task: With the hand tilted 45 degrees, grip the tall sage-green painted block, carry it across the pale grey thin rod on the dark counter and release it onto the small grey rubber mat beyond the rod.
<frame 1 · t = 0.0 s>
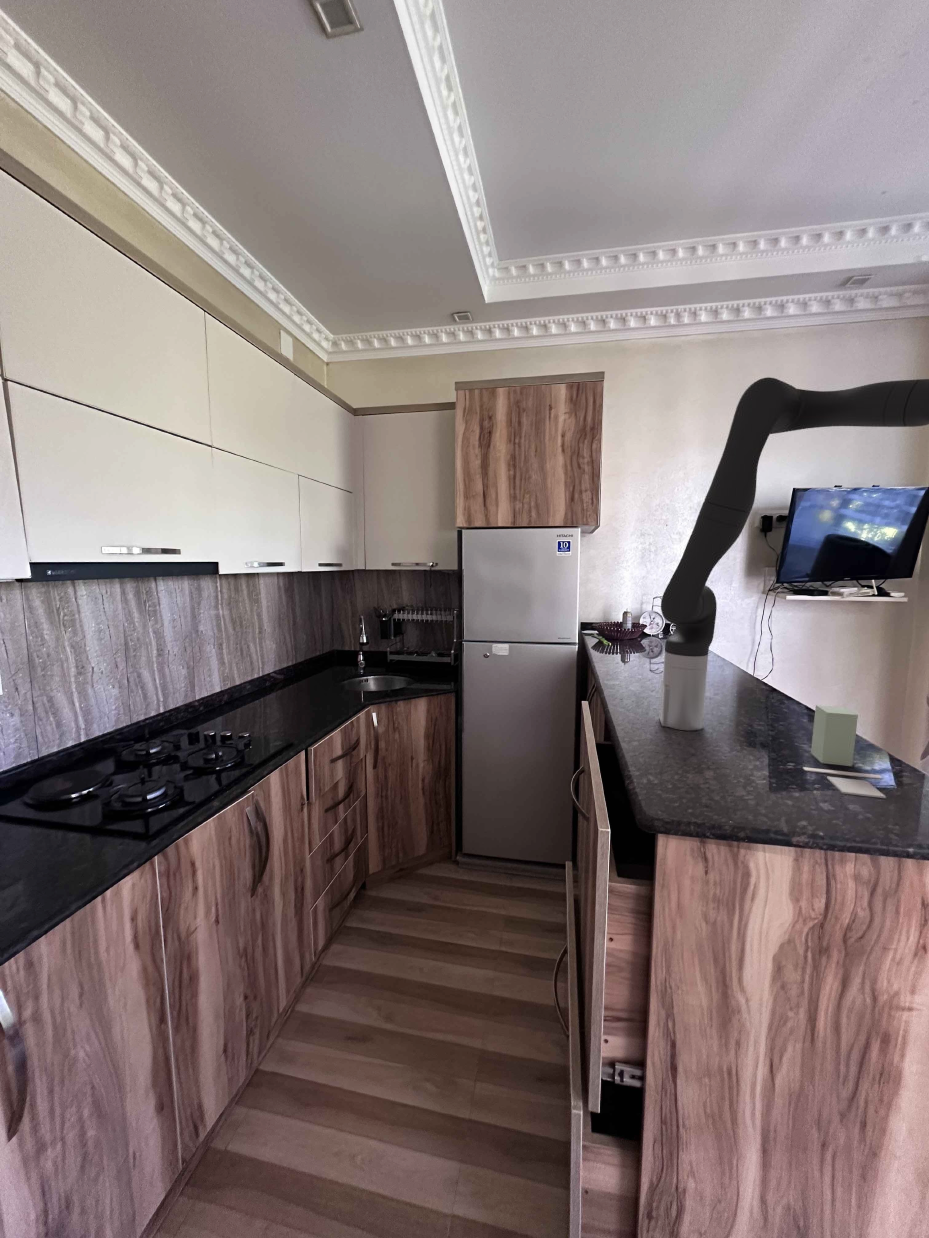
pale grey thin rod: (841, 773, 89), on the counter
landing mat: (854, 787, 83), on the counter
sage block: (830, 759, 95), on the counter
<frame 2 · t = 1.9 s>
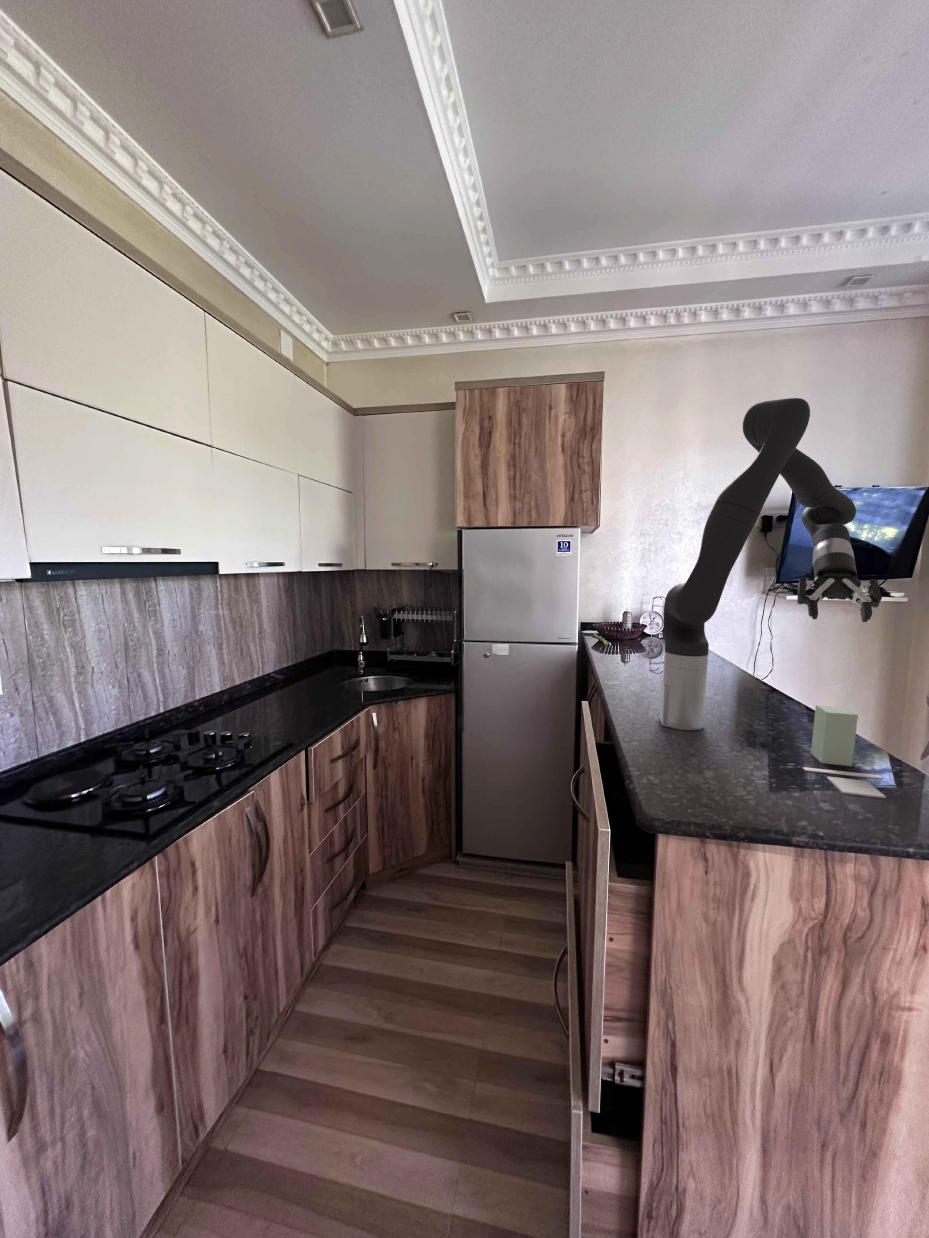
hand: (840, 618, 102), 27 cm above the counter, tool tilted 45°, fingers open, 8 cm apart
nothing on the counter moved.
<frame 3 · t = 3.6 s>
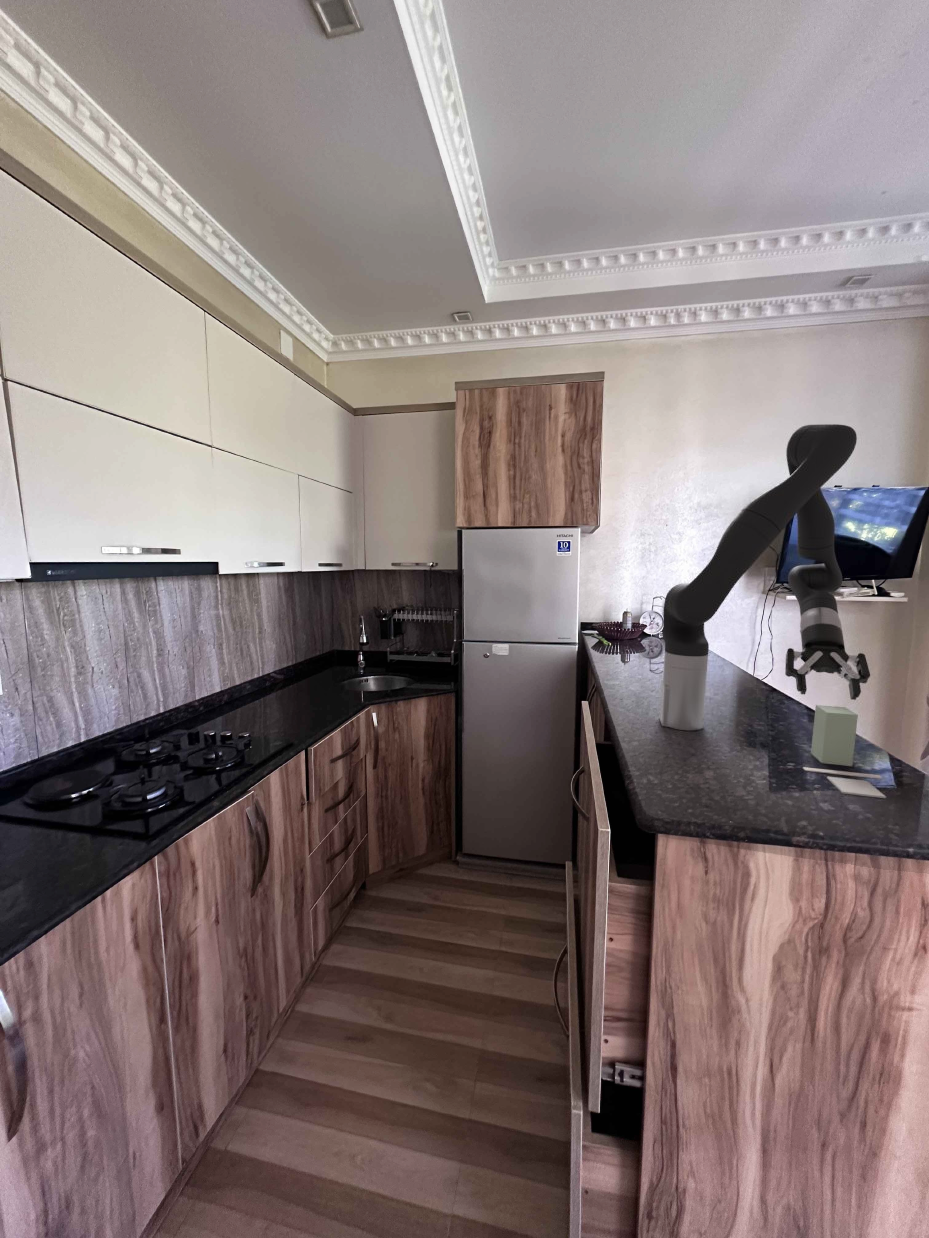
hand: (828, 695, 100), 11 cm above the counter, tool tilted 45°, fingers open, 8 cm apart
nothing on the counter moved.
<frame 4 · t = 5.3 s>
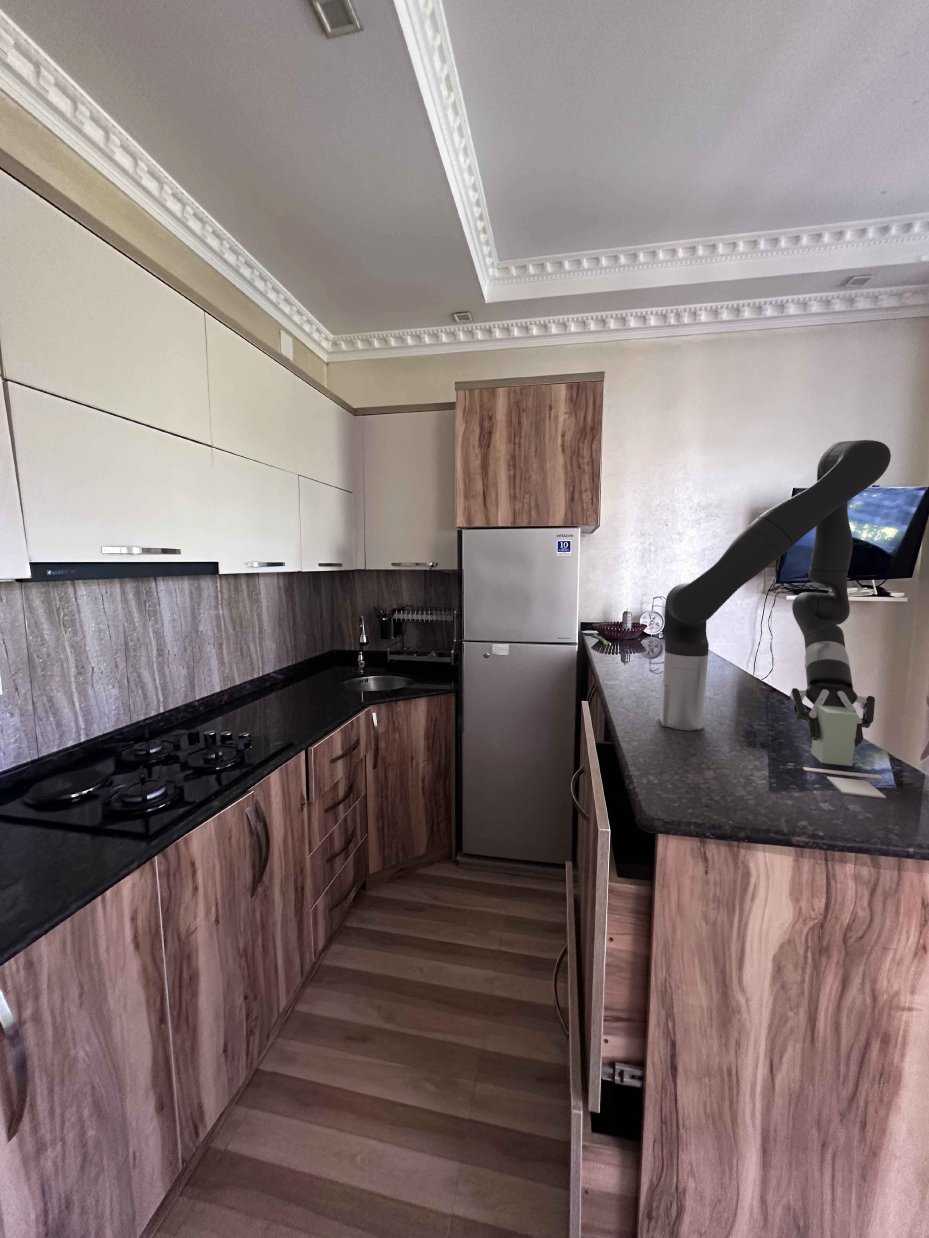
hand: (835, 741, 93), 4 cm above the counter, tool tilted 45°, fingers closed on sage block, 5 cm apart
sage block: (831, 759, 95), on the counter, touching gripper
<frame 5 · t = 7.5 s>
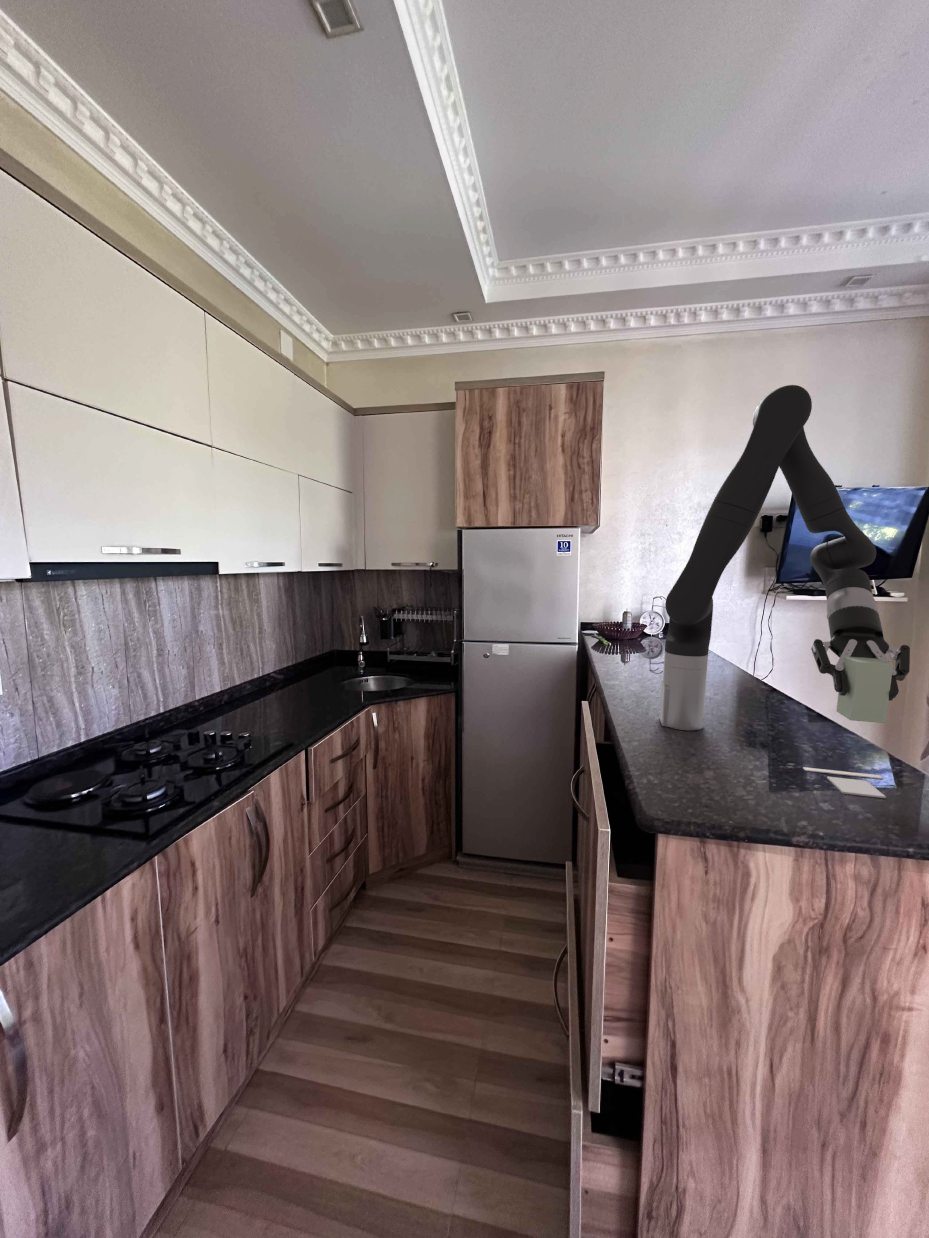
hand: (866, 695, 82), 16 cm above the counter, tool tilted 45°, fingers closed on sage block, 5 cm apart
sage block: (860, 717, 84), point 12 cm above the counter, touching gripper
when the fingers open (6 cm above the counter, at t = 9.8 s): sage block drops 1 cm, resting on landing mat.
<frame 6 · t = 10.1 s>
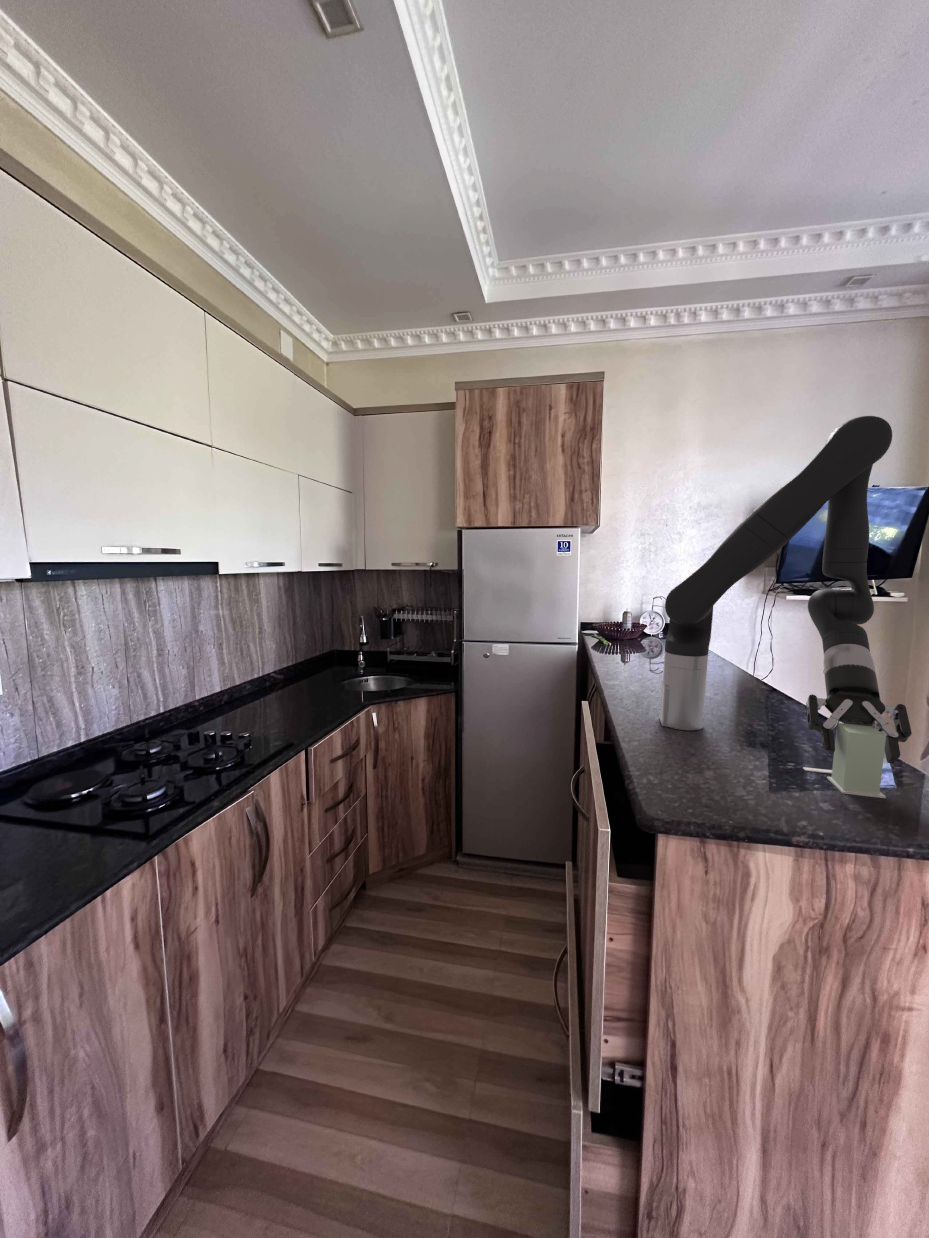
hand: (861, 756, 81), 6 cm above the counter, tool tilted 45°, fingers open, 7 cm apart
sage block: (854, 785, 83), resting on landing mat
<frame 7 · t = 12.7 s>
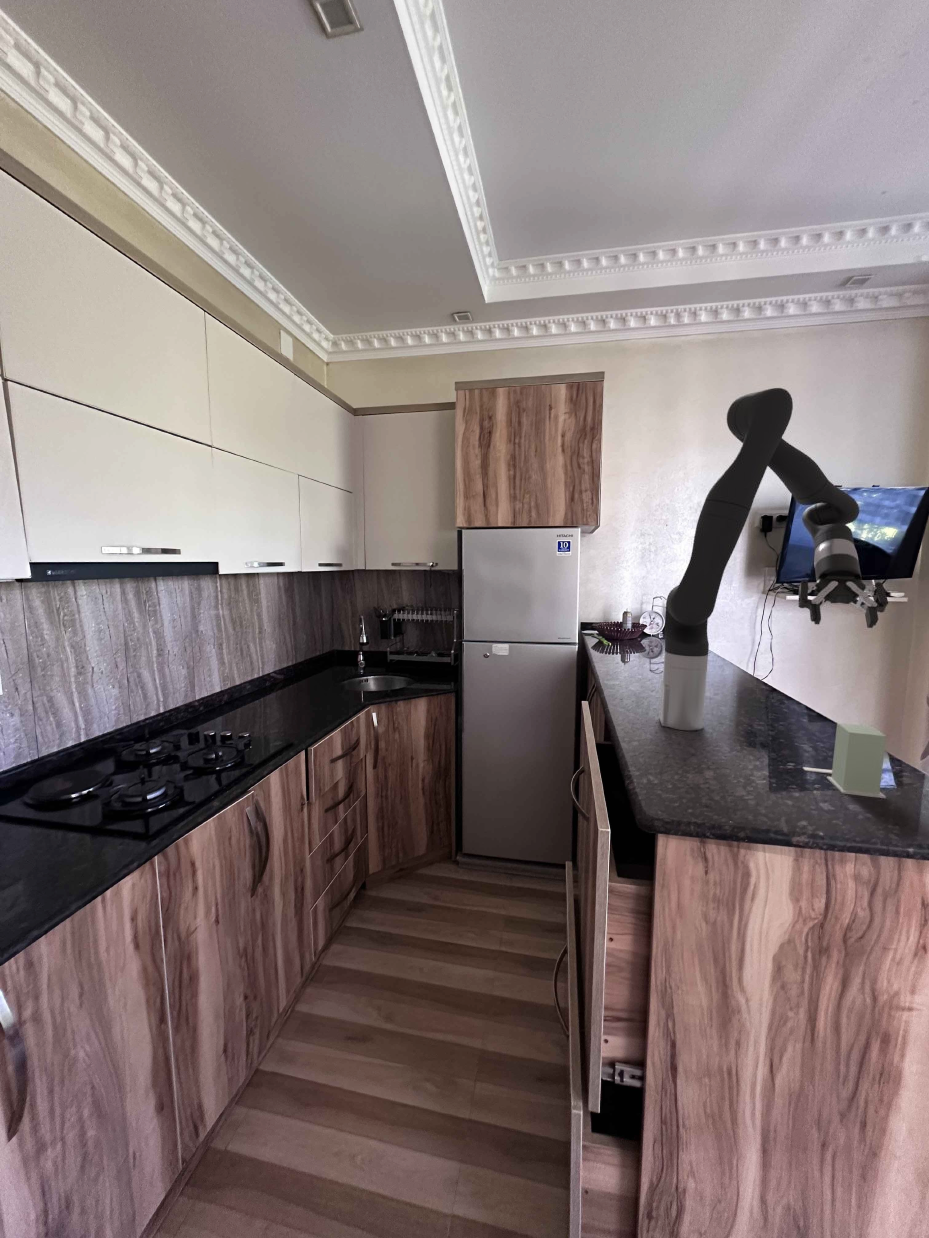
hand: (844, 623, 96), 26 cm above the counter, tool tilted 45°, fingers open, 8 cm apart
nothing on the counter moved.
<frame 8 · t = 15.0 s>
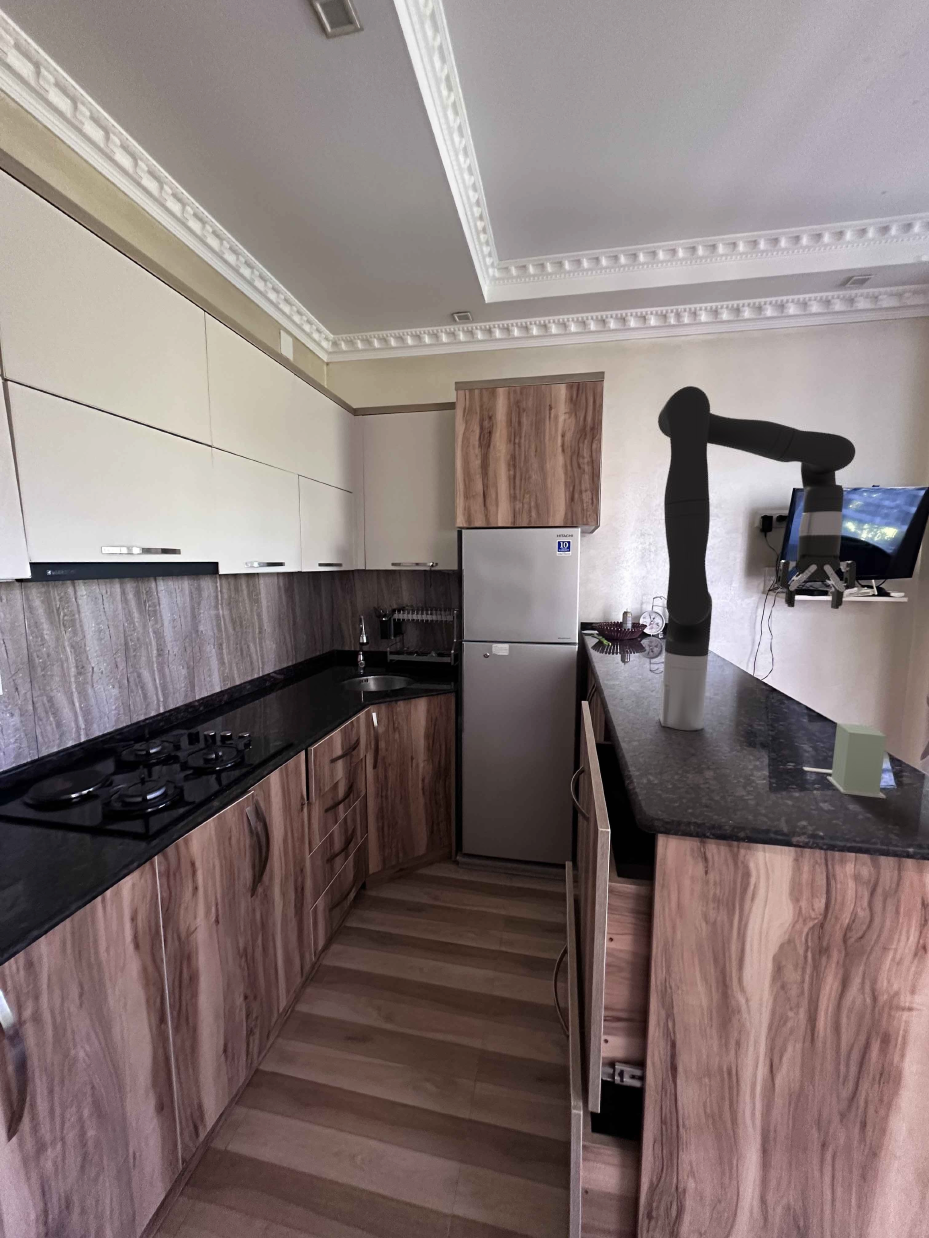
hand: (812, 607, 109), 28 cm above the counter, tool pointing down, fingers open, 8 cm apart
nothing on the counter moved.
at the end: sage block inside the target area (2.6 cm from its centre), resting on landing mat; sage block tilted 0°; the gripper is holding nothing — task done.
